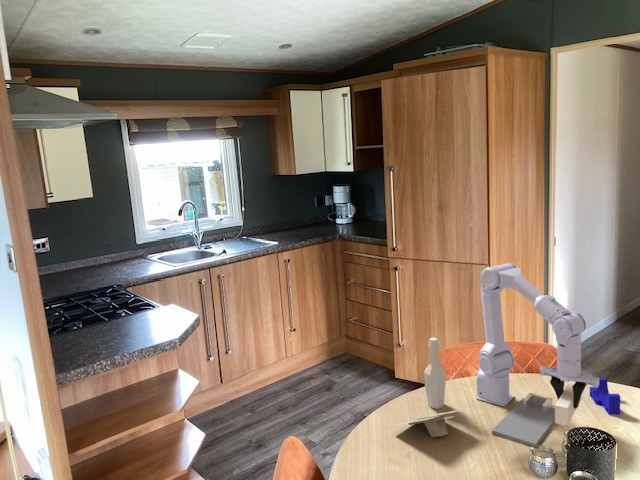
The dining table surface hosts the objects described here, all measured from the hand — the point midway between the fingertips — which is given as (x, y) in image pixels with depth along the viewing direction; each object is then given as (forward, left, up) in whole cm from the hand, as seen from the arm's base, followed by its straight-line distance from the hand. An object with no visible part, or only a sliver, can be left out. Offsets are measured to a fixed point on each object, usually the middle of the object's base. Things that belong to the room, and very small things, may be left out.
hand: (568, 405), depth 142 cm
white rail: (0, 0, -2) cm, 2 cm away
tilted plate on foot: (-32, -20, -9) cm, 39 cm away
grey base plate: (-11, 0, -9) cm, 14 cm away
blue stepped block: (+4, +22, -9) cm, 24 cm away
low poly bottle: (-38, -5, -9) cm, 39 cm away
